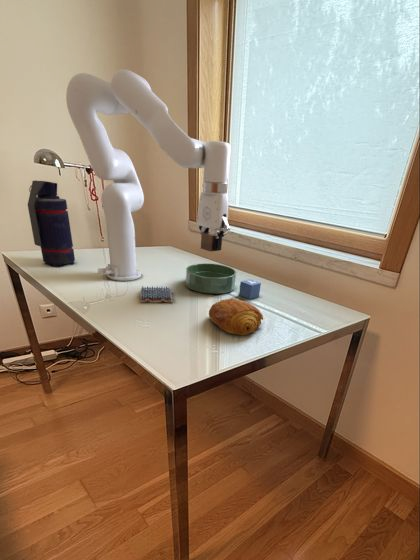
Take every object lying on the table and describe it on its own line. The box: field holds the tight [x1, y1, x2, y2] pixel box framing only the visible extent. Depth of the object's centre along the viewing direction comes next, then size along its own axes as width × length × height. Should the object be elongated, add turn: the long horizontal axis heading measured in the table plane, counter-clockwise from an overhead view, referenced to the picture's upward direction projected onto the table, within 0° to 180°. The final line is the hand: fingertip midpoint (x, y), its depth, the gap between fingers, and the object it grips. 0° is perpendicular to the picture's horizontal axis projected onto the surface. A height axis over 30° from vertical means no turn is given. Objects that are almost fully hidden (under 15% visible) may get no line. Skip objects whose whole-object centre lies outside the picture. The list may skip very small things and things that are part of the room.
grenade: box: [27, 180, 76, 268], centre depth 123 cm, size 14×12×30 cm
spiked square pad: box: [139, 285, 174, 303], centre depth 105 cm, size 10×11×2 cm
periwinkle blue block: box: [238, 278, 262, 300], centre depth 111 cm, size 5×5×5 cm
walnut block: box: [200, 231, 223, 252], centre depth 106 cm, size 5×5×5 cm
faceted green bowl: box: [185, 262, 238, 295], centre depth 117 cm, size 18×18×6 cm
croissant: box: [208, 297, 264, 336], centre depth 89 cm, size 14×16×8 cm
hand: (211, 248), depth 108 cm, fingers closed on walnut block, 5 cm apart
